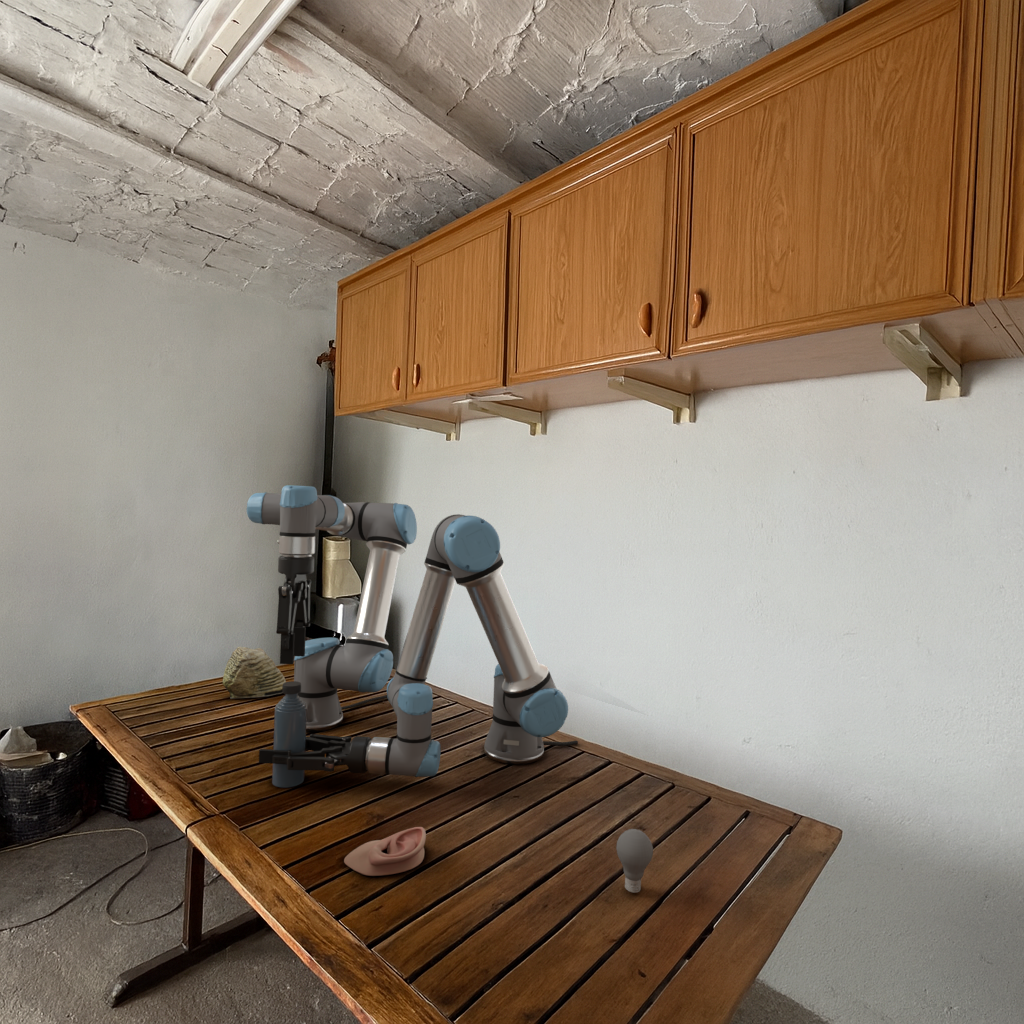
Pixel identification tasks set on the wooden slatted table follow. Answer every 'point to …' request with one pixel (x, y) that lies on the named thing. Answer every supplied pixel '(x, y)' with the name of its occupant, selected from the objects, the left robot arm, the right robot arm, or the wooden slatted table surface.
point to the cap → (291, 687)
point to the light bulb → (634, 857)
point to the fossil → (252, 674)
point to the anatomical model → (389, 853)
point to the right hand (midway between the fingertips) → (267, 749)
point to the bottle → (289, 737)
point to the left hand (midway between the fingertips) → (292, 659)
